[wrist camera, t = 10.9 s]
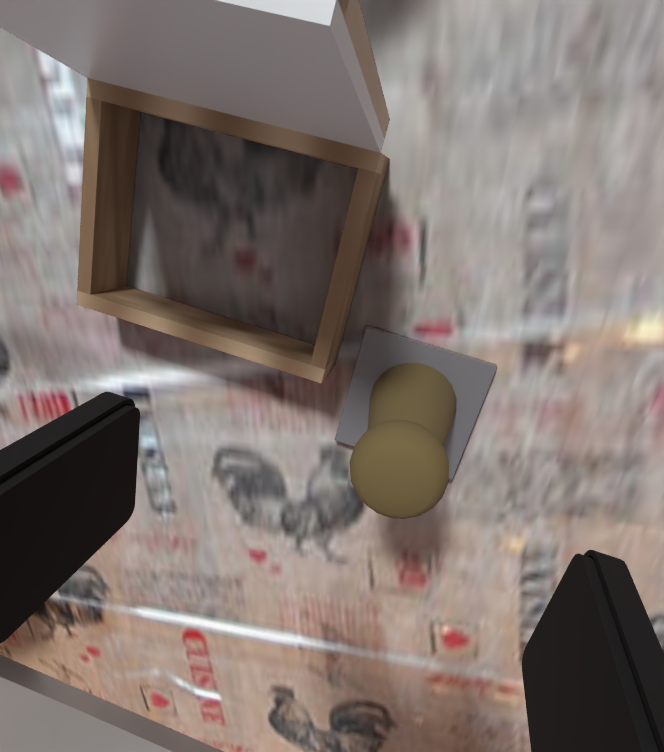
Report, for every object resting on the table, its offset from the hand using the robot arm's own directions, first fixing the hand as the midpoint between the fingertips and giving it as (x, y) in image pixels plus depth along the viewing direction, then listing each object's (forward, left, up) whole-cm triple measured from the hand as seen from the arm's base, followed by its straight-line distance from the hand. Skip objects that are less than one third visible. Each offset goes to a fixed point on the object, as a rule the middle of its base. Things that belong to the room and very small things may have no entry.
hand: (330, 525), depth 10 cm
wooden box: (+13, -1, -25) cm, 28 cm away
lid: (+13, -9, -14) cm, 21 cm away
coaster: (-2, +7, -25) cm, 26 cm away
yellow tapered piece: (-2, +7, -24) cm, 25 cm away
